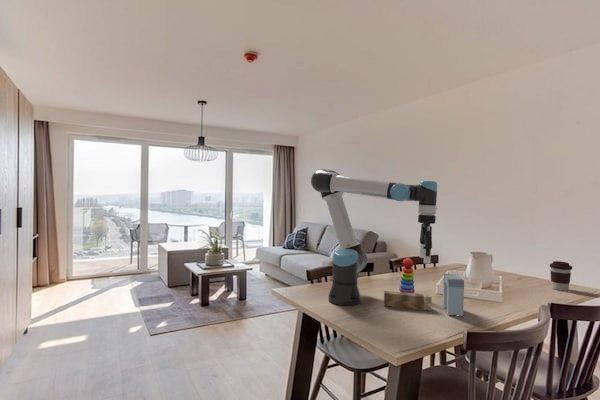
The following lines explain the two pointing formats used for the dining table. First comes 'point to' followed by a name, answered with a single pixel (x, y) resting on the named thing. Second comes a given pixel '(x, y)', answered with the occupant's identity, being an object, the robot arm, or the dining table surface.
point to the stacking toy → (407, 277)
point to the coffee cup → (560, 275)
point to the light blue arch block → (453, 294)
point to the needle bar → (407, 300)
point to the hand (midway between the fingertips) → (424, 260)
